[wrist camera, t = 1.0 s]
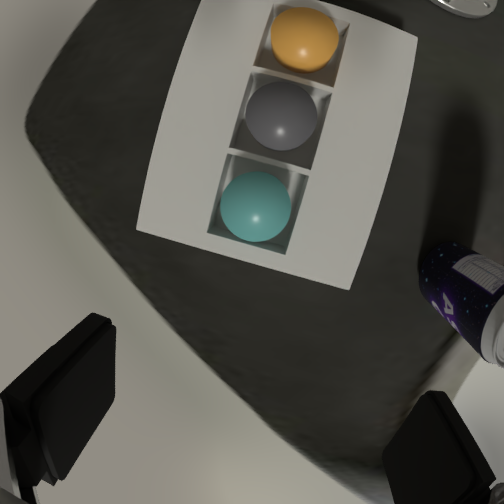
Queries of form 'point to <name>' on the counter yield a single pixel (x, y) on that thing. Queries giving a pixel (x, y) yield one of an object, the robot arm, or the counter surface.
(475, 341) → the beverage can
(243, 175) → the teal button
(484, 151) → the counter surface
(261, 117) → the charcoal button
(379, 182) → the panel
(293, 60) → the orange button
